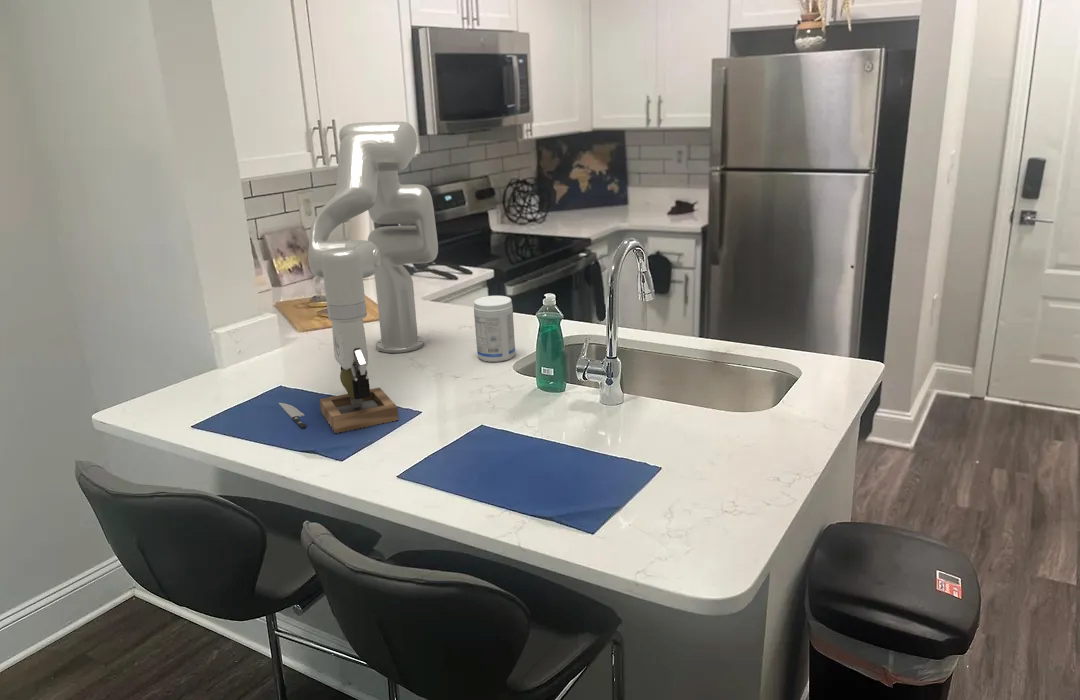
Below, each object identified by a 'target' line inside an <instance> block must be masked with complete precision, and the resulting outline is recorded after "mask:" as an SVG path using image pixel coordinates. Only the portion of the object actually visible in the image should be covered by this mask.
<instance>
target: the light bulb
mask: <svg viewBox="0 0 1080 700" xmlns="http://www.w3.org/2000/svg"><path fill="white" fill-rule="evenodd" d="M353 365H358V364H353ZM357 370H359V369H357ZM357 370H355V371H356V374H357ZM339 380H340V382H341V385H342V386H343V388H344V389H345V391H346V394H348V396H349V398H350V400H351V407H353V408H355V409H359V408H360V407H361V406H362V405H363V402H362V401H363V400H362V399H355V398H354V392H353V384H352V380H354V379H353V375H352V371H351V368H349V369H348V370H345V369H342V371H341V370H340V375H339Z"/></svg>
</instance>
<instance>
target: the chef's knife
mask: <svg viewBox="0 0 1080 700" xmlns="http://www.w3.org/2000/svg"><path fill="white" fill-rule="evenodd" d="M278 404H279V406H280V407H281V408H282V409H283V410H284V412H286V413H287V415H288V416H289V417H290V418H291V419H292V421H294V422H295V423H296V425H297V426H298V427H299V426H300V427H299V428H300V429H302V428H304V429H306V427H307V424H306V423H304V422H302V421H301V420H300V419H299V418H300V417H301V416H302V417H304V416H305V414H304V412H303V411H302V412H301V411H300V410H299V409H298V408H296V407H295V406H293V405H291V404H288V403H285V402H284V403H283V402H278Z"/></svg>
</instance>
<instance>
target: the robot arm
mask: <svg viewBox="0 0 1080 700" xmlns="http://www.w3.org/2000/svg"><path fill="white" fill-rule="evenodd" d="M338 138H339V142H340V144H339V151H338V162H337V173H336V174H337V175H336V186H335V194H334V196H333V197H332V198H330V200H329V201H328V202H326V204H324V206H323V207H321V209H320V211H319V212H318V213H317V215H316V216H315V218H314V220H313V221H312V224H311V226H310V232H309V239H308V241H309V242H308V252H307V257H308V258H307V260H308V266H309V269H310V271H311V273H312V274H313V275H314V276H316V277H317V278H322V279H323V284H324V292H325V293H324V294H325V300H326V309H327V316H328V321H330V322H331V330H332V343H333V355H334V359H335V361H336V362H337V363H338V364H339V366H340V372H341V371H342V369H345V370H348V369H349V368H351V371H352V375H353V379H354V380H352V384H353V392H354V398H355V399H362V398H367V397H370V389H371V388H370V380H369V379H370V378H369V374H368V370H367V367H368V365H369V354H368V346H367V339H366V332H365V327H364V326H365V325H364V321H363V319H365V318H367V315H368V314H367V305H366V304H367V303H366V295H365V294H366V293H365V285H364V279H365V278H369V277H371V276H374V282H375V291H376V293H375V294H376V300H377V301H376V302H377V311H378V312H377V313H378V321H379V322H378V323H379V331H380V339H379V340H378V341H376V343H375V348H376V350H377V351H379V352H382V353H390V354H396V353H397V354H399V353H406V352H412V351H416V350H419V349H421V348H423V346H424V345H425V340H424V338H423V337H421V336H419V335H418V334H419V333H418V324H417V323H418V322H417V313H416V311H417V310H416V303H415V302H416V300H415V291H414V281H413V278H412V277H413V276H411V273H410V272H409V271H408V270H407V269H406V268H405V266H404V265H406V264H409V265H410V264H411V265H412V264H428V263H432V262H434V261H435V260H436V259H437V256H438V254H439V243H438V242H439V241H438V233H437V226H436V225H437V224H436V218H435V209H434V204H433V197H432V195H431V192H430V189H428V187H426V186H425V185H422V184H417V183H416V184H415V183H413V184H412V183H411V184H402V183H400V178H399V173H398V171H403V170H405V169H406V168H407V167H408V165H409V164H410V163H411V162H412V160H413V158H414V157H415V154H416V151H417V146H418V145H417V144H418V139H417V134H416V130H415V128H414V126H413V125H412V124H411V123H410V122H407V121H379V122H376V121H375V122H374V121H373V122H372V121H371V122H353V123H348V124H346V125H343V126H342V127H341V128H340V130H339V134H338ZM367 211H368V213H369V217H370V219H371V221H372V222H373V223H376V224H378V225H386V226H381V227H377V228H374V229H373V230H372V231H371V232H369V234H368V237H367V240H361V239H360V240H359V239H358V240H328V239H329V236H330V235H331V233H332V232H333V231H334V230H335V229H336V228H338V226H341V224H343V223H345V222H346V221H349V220H350V219H352V218H355V217H357V216H359V215H361V214H363V213H366V212H367ZM406 224H407V225H406ZM408 224H409V225H408ZM411 224H413V225H411ZM387 225H389V226H387ZM353 364H358V365H353ZM357 369H359V370H357ZM355 370H357V374H356V371H355Z"/></svg>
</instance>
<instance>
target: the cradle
mask: <svg viewBox="0 0 1080 700" xmlns="http://www.w3.org/2000/svg"><path fill="white" fill-rule="evenodd" d="M362 400H363V401H362V402H363V405H362V406H361V407H360V408H359V409H355V408H353V407H351V400H350V398H349V396H348V393H344V394H340V395H339V394H338V395H334V396H328V397H323V398H320V399H319V407H320V412H321V414H322V416H323V417H324V419H325V421H326V422H327V421H328V422H327V424H328V425H329V424H330V425H329V426H330V427H332V428H331V430H332V431H333V430H334V431H333V432H334V434H335V433H337V434H340V433H339V432H342V433H346V432H345V431H347V432H350V431H349V430H351V431H355V430H354V429H356V430H360V428H361V429H364V427H365V428H369V426H370V427H374V426H373V425H375V426H378V425H377V424H379V425H382V423H384V424H388V423H391V422H392V421H393V422H397V421H396V420H398V421H399V420H400V419H399V409H398V405H397V404H395V403H394V401H393V400H392V399H391V398H390V397H389V396H388V395H387V394H386V393H385V392H384V390H383V389H382V388H381V387H376V388H375V387H374V388H370V397H367V398H362ZM393 422H392V423H393Z"/></svg>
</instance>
